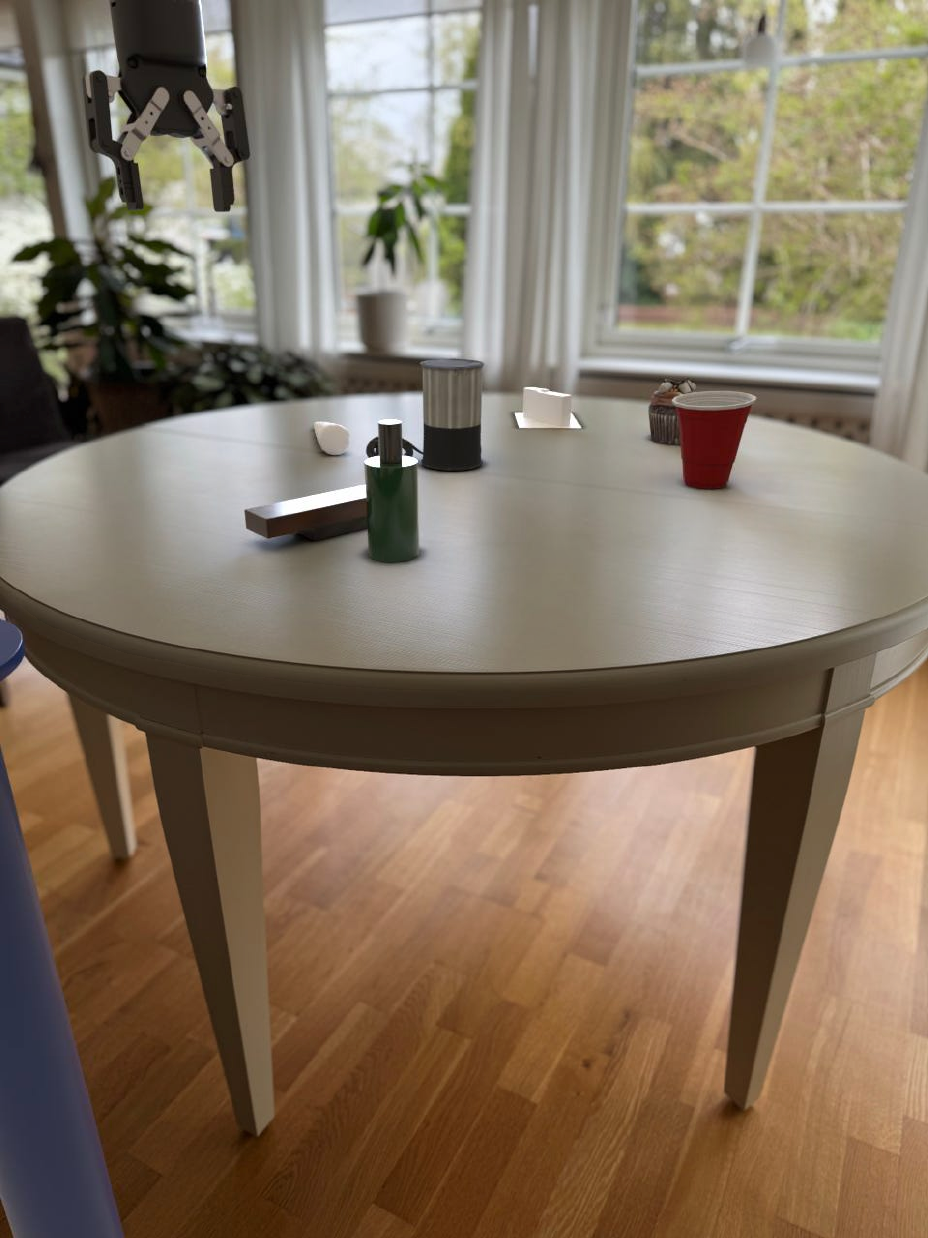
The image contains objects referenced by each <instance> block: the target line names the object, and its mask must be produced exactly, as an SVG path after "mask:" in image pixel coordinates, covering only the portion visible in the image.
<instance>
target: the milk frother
mask: <svg viewBox="0 0 928 1238" xmlns="http://www.w3.org/2000/svg"><path fill="white" fill-rule="evenodd" d="M419 364H420V366H421V367H422V413H423V414H422V415H423V416H422V417H423V419H422V420H423V423H422V424H423V439H422V440H423V442H422V443H423V445H422V450H420V449H419V448H418V447H417V446H415V445H414V444H413V443H412V442H410V441H409V440H407V439H405V438H403V437H402V449H403V451H404V454H403V456H407V457H412V458H414V451H415V452H416V453H418V454H421V455H422V459H421V462H420V463H421V465H422V466H424V467H425V468H428V469H433V470H439V471H466V470H467V471H468V470H472V469H477V468H479V467H481V466H482V465H483V464H484V461H483V459H482V409H483V367H484V366H485V363H484V362H483V361H481V360H475V359H468V358H457V357H456V358H455V357H453V358H433V359H427V360H422V361H421V362H419ZM365 447H366V448H365V454H366V456H367V457H368V459H369V458H372V457H377V456H379V441H378V436H375V437H374V438H372V439H371V440H370V441H369V442H368V443H367V444H366V446H365Z"/></svg>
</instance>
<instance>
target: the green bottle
mask: <svg viewBox="0 0 928 1238" xmlns="http://www.w3.org/2000/svg"><path fill="white" fill-rule="evenodd" d="M377 437H378V441H379V456H377V457H372V458H369V457H368V458H367V459H365V460H364V482H365V484H364V485H366V507H367V528H366V529H367V547H368V549H367V550H368V553H367V554H368V557H369V558H370V559H372V560H375V561H377V562H381V563H402V562H406V561H411V560H413V559H416V558H417V557H418V556H419V555H420V525H419V522H420V521H419V519H420V518H419V470H418V469H419V467H418V460H417V459H416V458H415V457H407V456H403V455H404V454H403V453H404V452H403V451H404V449H403V448H402V438H403V422H402V421H401V420H398V419H382V420H378V421H377Z"/></svg>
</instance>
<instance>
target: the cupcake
mask: <svg viewBox="0 0 928 1238" xmlns="http://www.w3.org/2000/svg"><path fill="white" fill-rule="evenodd" d="M694 382H695V381H694V379H691V378H689V377H687V378H685V379H684V380H683V381H678V380H673V379H670V378H669V377H667V378H666V379H664V380H663V381H662V384H661V385H659V387H658V390H656V391H654V392H653V393H652V395H651V397H650V403H649V405H648V407H647V409H648V421H649V431H650V432H649V433H650V439H651V441H654V442H656V443H659V444H664V445H665V444H666V445H676V446H681V445H680V432H679V421H678V416H677V413H676V408H675V406H674V404H673V403H672V400H673V398H674V397H677V396H680V395H683V394H688V393H694V392H695V390H696V388H697V386H696V384H695V383H694Z"/></svg>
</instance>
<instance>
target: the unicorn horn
mask: <svg viewBox="0 0 928 1238" xmlns="http://www.w3.org/2000/svg"><path fill="white" fill-rule="evenodd" d="M313 427H314V432H315V435H316V439H317V442H318V445H319V447H320V449H321V450H322V451H323V452H324V453H326V454H327V455H331V456H340V455H342V454H345V453H346V451H347V450H348V449H349V446H350V443H351V436H350V433H349V430H348V429H347V428H346V427H344V425H341V424H337V423H333V422H328V421H315V422H314V423H313Z"/></svg>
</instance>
